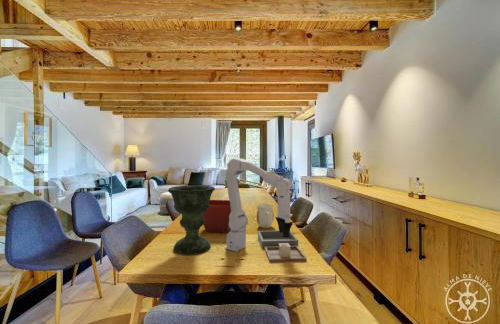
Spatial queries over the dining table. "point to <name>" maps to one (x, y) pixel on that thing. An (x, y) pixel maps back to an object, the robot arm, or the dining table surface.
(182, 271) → the dining table surface
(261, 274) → the dining table surface
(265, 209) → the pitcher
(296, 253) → the tray
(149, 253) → the dining table surface
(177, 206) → the goblet
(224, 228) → the plant pot
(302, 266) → the dining table surface
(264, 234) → the bin
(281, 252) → the block
